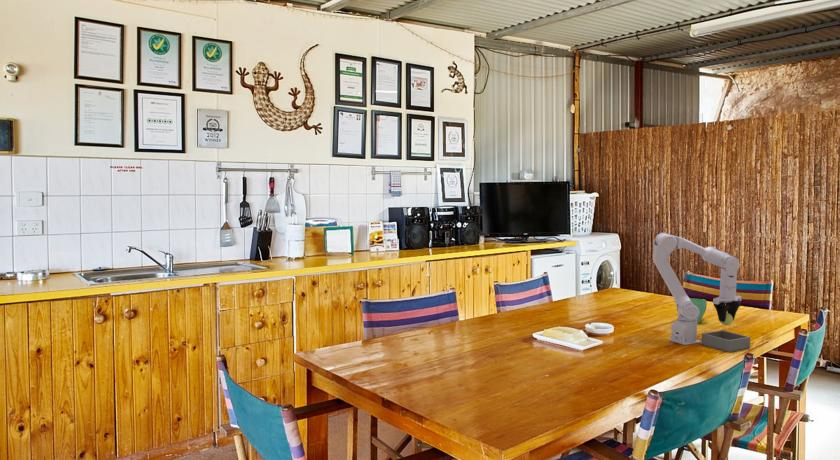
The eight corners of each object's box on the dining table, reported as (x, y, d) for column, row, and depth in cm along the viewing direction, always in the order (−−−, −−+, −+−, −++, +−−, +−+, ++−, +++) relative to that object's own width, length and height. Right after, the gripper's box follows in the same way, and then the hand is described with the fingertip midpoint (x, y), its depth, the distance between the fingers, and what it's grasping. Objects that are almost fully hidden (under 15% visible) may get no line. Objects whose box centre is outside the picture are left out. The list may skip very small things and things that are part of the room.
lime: (726, 327, 243) (726, 314, 243) (716, 324, 248) (716, 312, 247) (735, 325, 245) (735, 313, 245) (725, 322, 250) (725, 310, 249)
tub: (729, 352, 233) (729, 340, 233) (701, 344, 244) (701, 333, 243) (749, 348, 239) (750, 337, 238) (721, 341, 249) (722, 330, 249)
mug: (699, 326, 275) (700, 303, 274) (677, 322, 282) (678, 300, 281) (714, 321, 284) (715, 299, 284) (693, 317, 292) (693, 296, 291)
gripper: (725, 289, 238) (723, 324, 239) (749, 286, 245) (747, 320, 246) (708, 286, 244) (707, 320, 245) (732, 283, 251) (731, 317, 252)
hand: (726, 320), depth 246 cm, fingers closed on lime, 5 cm apart
